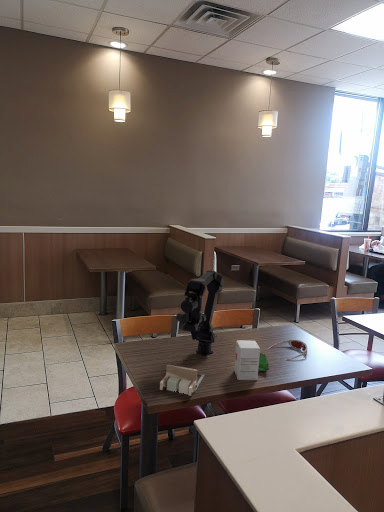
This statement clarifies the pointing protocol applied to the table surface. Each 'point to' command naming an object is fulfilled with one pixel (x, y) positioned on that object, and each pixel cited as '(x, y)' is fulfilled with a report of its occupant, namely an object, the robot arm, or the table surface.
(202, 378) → the steel handle
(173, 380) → the sage block
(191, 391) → the toy sofa
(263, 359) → the snack package
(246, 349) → the supplement box
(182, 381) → the cream block
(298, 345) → the sunglasses
